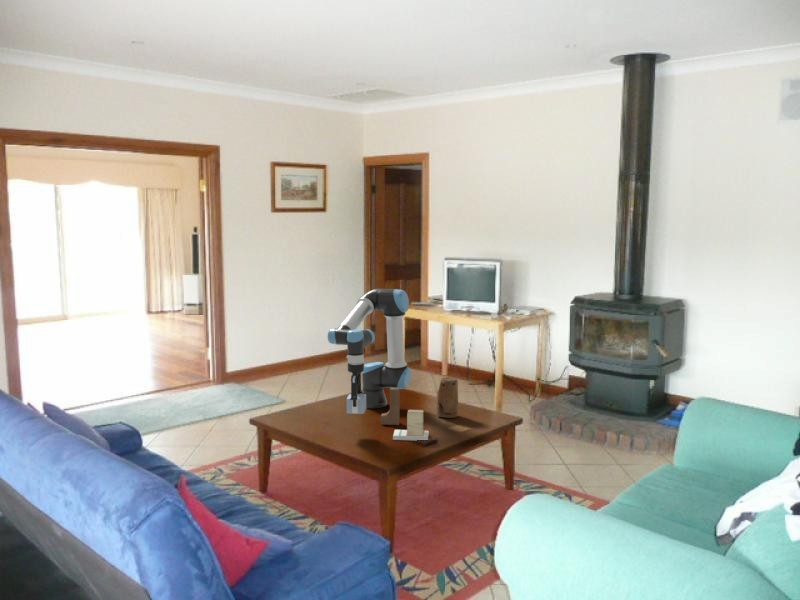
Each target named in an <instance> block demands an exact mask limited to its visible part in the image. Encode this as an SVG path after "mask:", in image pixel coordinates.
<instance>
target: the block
mask: <svg viewBox="0 0 800 600" xmlns="http://www.w3.org/2000/svg"><path fill="white" fill-rule="evenodd" d="M458 384H459V383H458V378H457V377H450V376H449V377H442V378H441V380H440V383H439V387H438V390H437V393H436V412H437V414H436V415H437V417H439V418H447V419H449V418H450V419H454V418H457V417H458V414H459V385H458Z"/></svg>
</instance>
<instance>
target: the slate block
mask: <svg viewBox="0 0 800 600" xmlns="http://www.w3.org/2000/svg"><path fill="white" fill-rule="evenodd" d="M350 398H351V393H349V394H348V395H347V397H346V399H345V400H346V401H345V402H346V414H348V415H349V414H354V415H356V414H357V415H358V414H359V415H364V414H365V412H366V410H367V408H366V394H357V399H358V413H352V400H350Z"/></svg>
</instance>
